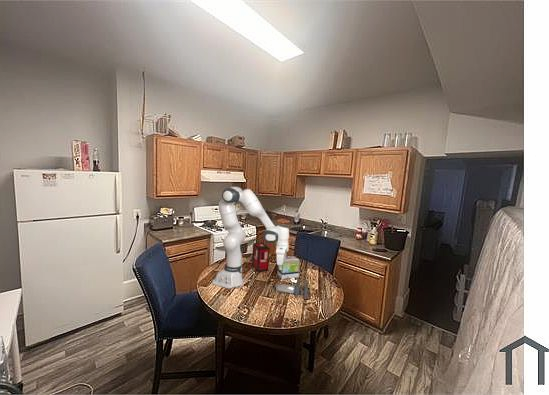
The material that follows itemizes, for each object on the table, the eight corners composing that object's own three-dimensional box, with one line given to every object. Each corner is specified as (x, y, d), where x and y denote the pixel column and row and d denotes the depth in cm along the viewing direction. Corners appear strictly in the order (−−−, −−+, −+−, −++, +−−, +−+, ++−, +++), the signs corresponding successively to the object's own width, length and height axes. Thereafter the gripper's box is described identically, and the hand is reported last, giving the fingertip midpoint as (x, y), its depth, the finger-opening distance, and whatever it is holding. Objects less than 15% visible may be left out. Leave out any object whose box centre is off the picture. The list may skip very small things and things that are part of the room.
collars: (295, 296, 152) (296, 284, 151) (296, 289, 162) (297, 277, 161) (310, 299, 150) (311, 286, 149) (311, 291, 160) (312, 279, 159)
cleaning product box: (268, 270, 190) (269, 248, 188) (258, 272, 186) (259, 249, 184) (261, 263, 205) (262, 242, 203) (251, 264, 201) (253, 243, 199)
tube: (275, 292, 157) (275, 286, 155) (277, 287, 162) (277, 281, 160) (301, 296, 154) (301, 290, 152) (301, 290, 159) (302, 285, 157)
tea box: (282, 279, 176) (283, 261, 174) (277, 274, 185) (278, 257, 183) (298, 277, 181) (300, 259, 180) (293, 272, 191) (294, 255, 189)
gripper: (280, 242, 167) (279, 260, 168) (275, 251, 147) (274, 272, 148) (288, 243, 165) (288, 261, 167) (284, 252, 145) (284, 273, 147)
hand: (281, 266), depth 157 cm, fingers open, 8 cm apart
